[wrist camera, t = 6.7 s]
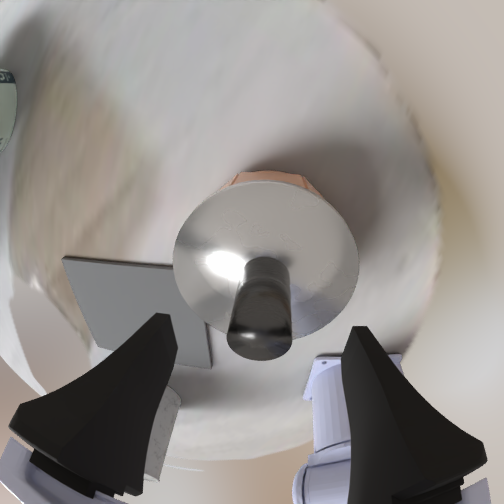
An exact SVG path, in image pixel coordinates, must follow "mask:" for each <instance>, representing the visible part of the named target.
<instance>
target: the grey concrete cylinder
mask: <svg viewBox="0 0 504 504" xmlns="http://www.w3.org/2000/svg"><path fill="white" fill-rule="evenodd" d="M180 405H181V399H180V397H179V395H178V394H177V393H176V392H175V391H174V390H173V389H172V388H170V387H169V386H168V385H167V386H166V389H165V391H164V394H163V396H162V399H161V402H160V404H159V407H158V410H157V412H156V416H155V419H154V423H153V427H152V431H151V435H150V440H149V445H148V451H147V456H146V463H145V470H144V480H147V481H151V482H159V481H160V480H159V478H160V474H161V470H162V467H163V463H164V459H165V456H166V452H167V448H168V445H169V441H170V438H171V434H172V431H173V427H174V424H175V420H176V417H177V413H178V410H179V407H180Z"/></svg>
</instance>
